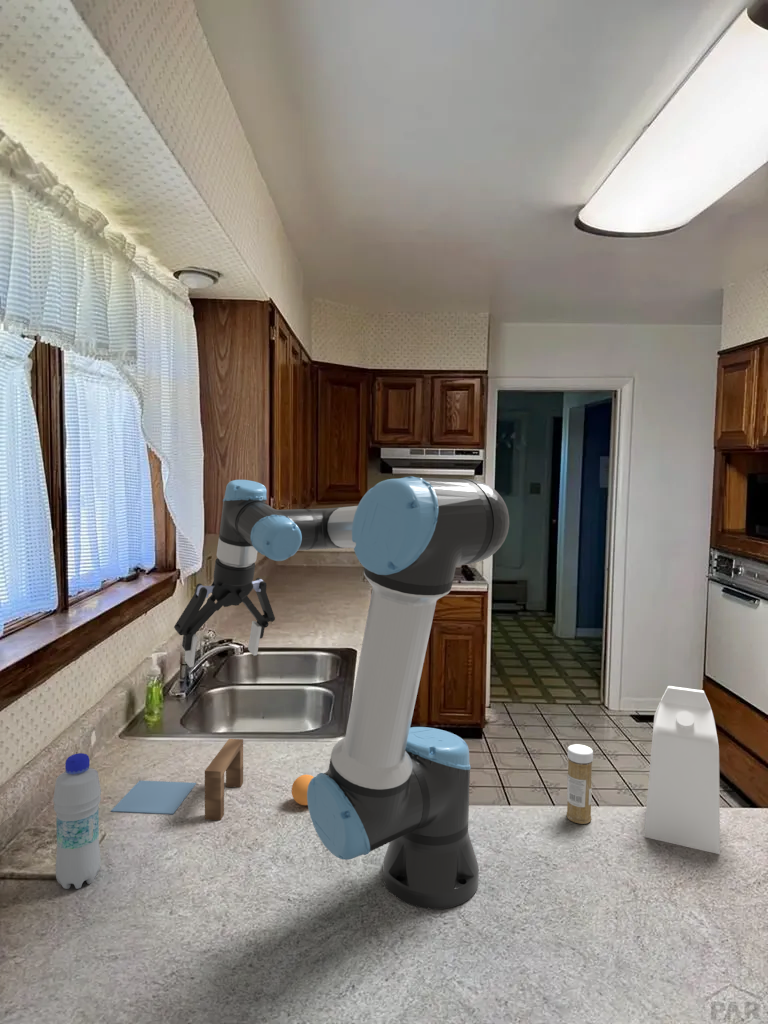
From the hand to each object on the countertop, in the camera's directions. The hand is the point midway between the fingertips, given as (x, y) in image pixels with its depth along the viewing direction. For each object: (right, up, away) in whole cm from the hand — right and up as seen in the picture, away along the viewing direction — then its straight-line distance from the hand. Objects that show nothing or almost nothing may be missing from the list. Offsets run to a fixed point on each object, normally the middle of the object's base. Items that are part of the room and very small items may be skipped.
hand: (221, 657), depth 126 cm
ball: (+17, -25, -4) cm, 31 cm away
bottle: (-15, -29, -28) cm, 43 cm away
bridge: (+1, -27, -3) cm, 27 cm away
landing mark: (-13, -27, -2) cm, 30 cm away
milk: (+87, -29, -11) cm, 92 cm away
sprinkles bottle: (+69, -29, -8) cm, 75 cm away
